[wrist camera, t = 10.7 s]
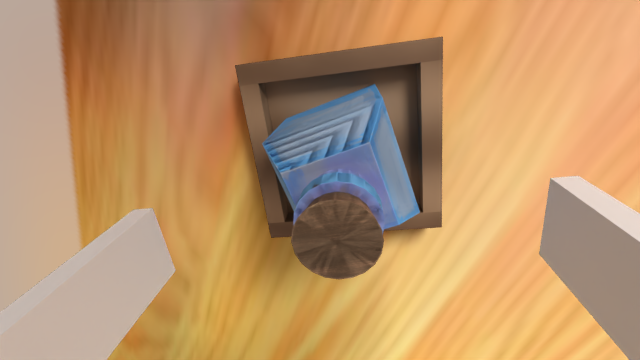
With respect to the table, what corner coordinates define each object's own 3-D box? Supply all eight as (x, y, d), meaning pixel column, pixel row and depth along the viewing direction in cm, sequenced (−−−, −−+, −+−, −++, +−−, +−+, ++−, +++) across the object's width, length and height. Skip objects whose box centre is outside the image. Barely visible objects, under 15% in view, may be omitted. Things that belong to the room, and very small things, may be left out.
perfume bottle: (320, 197, 24) (291, 326, 13) (286, 118, 22) (217, 190, 11) (403, 170, 23) (450, 289, 12) (374, 83, 21) (398, 126, 10)
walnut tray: (245, 63, 22) (234, 65, 20) (434, 37, 20) (442, 36, 18) (277, 224, 26) (271, 237, 24) (434, 213, 24) (441, 227, 22)
